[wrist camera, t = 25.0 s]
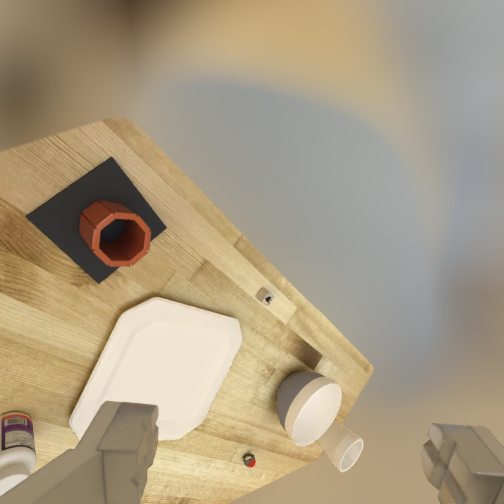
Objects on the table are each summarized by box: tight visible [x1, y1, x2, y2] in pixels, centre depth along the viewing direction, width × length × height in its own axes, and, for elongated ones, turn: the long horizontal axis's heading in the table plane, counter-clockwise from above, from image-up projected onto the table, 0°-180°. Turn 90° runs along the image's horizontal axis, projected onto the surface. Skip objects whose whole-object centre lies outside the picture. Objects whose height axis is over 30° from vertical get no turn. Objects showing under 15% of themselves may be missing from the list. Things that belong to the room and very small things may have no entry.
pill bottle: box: [0, 412, 36, 496], centre depth 39 cm, size 5×5×10 cm
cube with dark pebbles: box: [256, 288, 274, 305], centre depth 63 cm, size 2×2×2 cm
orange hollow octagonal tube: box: [79, 200, 151, 267], centre depth 39 cm, size 6×6×8 cm
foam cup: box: [316, 420, 363, 472], centre depth 86 cm, size 10×9×13 cm
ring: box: [243, 454, 256, 467], centre depth 75 cm, size 2×3×3 cm
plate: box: [69, 297, 243, 441], centre depth 54 cm, size 25×25×2 cm
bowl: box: [276, 372, 342, 446], centre depth 76 cm, size 16×16×10 cm
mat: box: [26, 157, 166, 284], centre depth 42 cm, size 12×12×1 cm
